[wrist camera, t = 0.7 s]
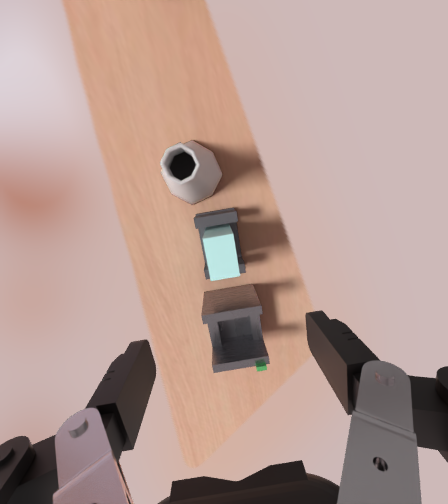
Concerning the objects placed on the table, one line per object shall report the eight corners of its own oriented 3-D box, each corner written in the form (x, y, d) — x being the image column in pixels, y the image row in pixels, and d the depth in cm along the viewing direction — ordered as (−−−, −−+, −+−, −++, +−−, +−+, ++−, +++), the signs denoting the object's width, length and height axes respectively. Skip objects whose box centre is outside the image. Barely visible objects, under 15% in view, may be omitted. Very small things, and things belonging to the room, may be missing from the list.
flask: (232, 175, 29) (241, 166, 20) (192, 214, 30) (181, 225, 21) (192, 128, 28) (179, 94, 18) (150, 172, 29) (117, 161, 19)
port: (204, 292, 33) (201, 318, 26) (252, 283, 33) (262, 308, 26) (214, 342, 35) (214, 378, 28) (260, 334, 35) (271, 369, 28)
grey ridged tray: (196, 214, 30) (193, 216, 27) (233, 207, 30) (236, 209, 27) (207, 271, 32) (206, 280, 29) (242, 265, 32) (246, 274, 29)
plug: (205, 227, 30) (202, 239, 22) (229, 223, 30) (233, 233, 22) (211, 259, 31) (210, 281, 23) (234, 255, 31) (240, 275, 23)
